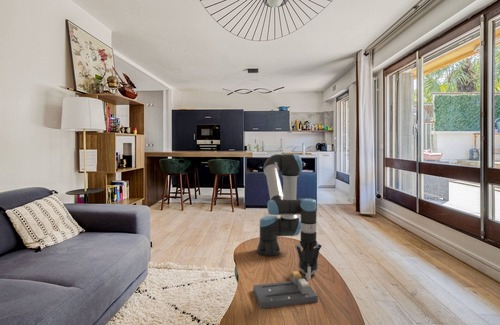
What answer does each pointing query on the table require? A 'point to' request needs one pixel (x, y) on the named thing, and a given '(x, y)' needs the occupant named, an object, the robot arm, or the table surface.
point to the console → (282, 294)
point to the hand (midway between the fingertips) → (308, 278)
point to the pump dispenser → (308, 263)
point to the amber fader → (296, 277)
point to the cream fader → (303, 286)
